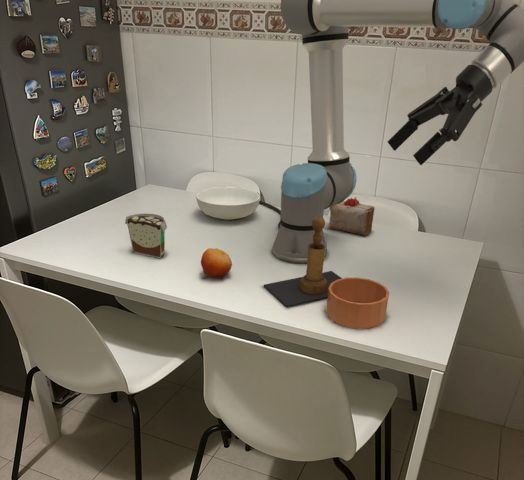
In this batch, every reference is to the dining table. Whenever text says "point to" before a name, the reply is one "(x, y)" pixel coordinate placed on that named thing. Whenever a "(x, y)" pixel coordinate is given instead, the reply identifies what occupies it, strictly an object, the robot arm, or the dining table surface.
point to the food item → (352, 217)
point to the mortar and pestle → (315, 262)
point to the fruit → (215, 263)
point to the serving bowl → (228, 202)
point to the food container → (147, 234)
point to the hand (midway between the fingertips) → (403, 153)
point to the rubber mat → (298, 290)
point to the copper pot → (353, 312)
